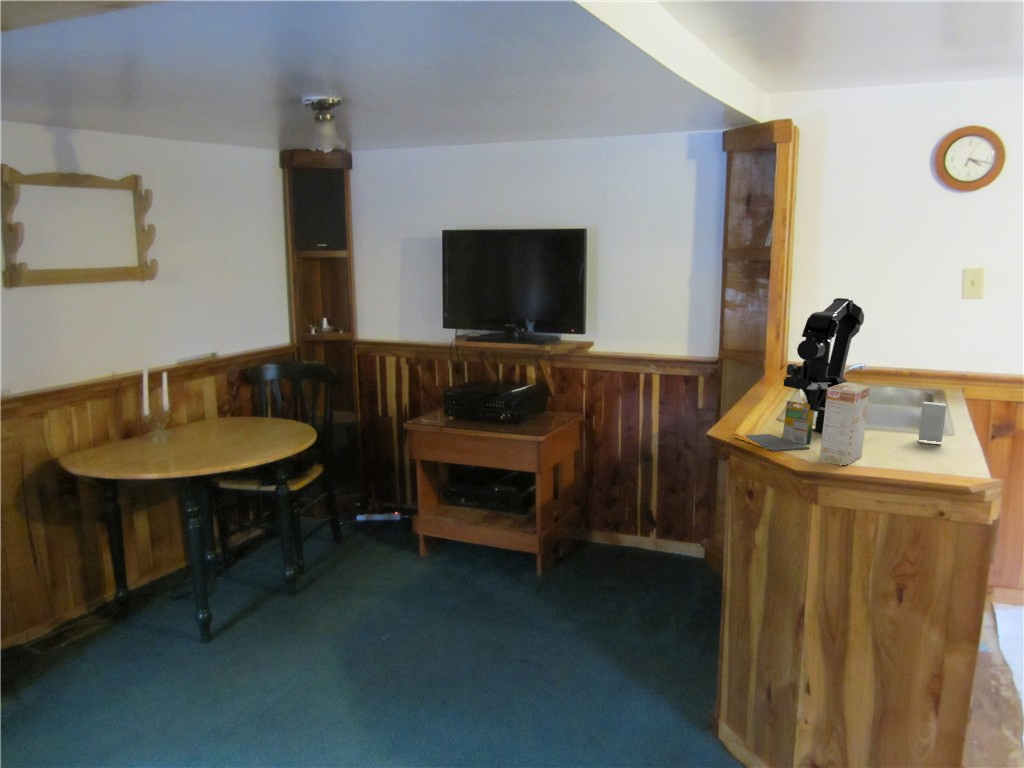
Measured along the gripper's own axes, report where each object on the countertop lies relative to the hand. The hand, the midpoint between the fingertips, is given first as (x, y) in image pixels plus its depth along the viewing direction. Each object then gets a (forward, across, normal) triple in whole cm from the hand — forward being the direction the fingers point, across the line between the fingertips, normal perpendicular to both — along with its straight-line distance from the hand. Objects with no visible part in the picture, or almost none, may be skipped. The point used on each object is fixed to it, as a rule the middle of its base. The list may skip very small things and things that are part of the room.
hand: (811, 411), depth 222 cm
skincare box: (+9, -37, +10) cm, 39 cm away
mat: (+9, +14, 0) cm, 16 cm away
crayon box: (+9, +4, 0) cm, 10 cm away
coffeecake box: (+9, +7, +19) cm, 22 cm away
